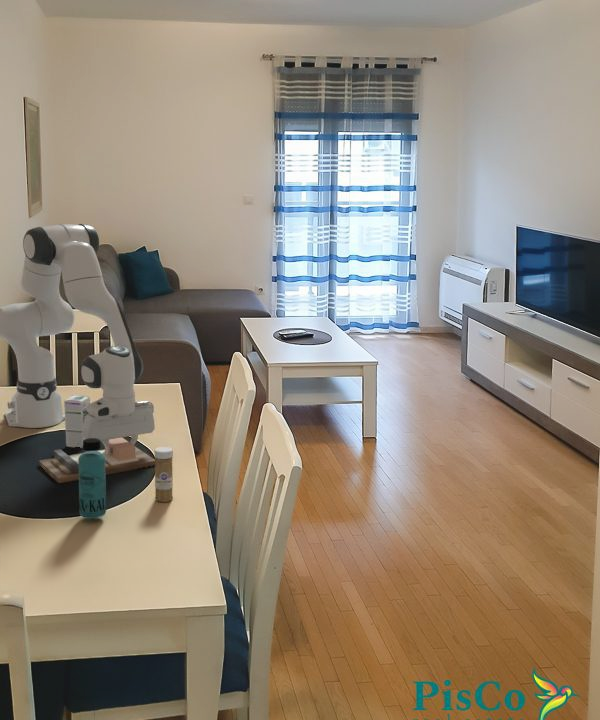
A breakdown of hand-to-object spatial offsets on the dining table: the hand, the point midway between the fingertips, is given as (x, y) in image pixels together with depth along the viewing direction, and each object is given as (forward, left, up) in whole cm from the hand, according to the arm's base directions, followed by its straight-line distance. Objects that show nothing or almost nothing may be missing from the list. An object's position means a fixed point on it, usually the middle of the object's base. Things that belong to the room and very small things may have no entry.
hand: (120, 451), depth 256 cm
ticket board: (0, -7, -3) cm, 7 cm away
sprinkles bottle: (+32, -2, -3) cm, 32 cm away
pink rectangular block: (0, -1, -1) cm, 2 cm away
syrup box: (-20, -5, -3) cm, 21 cm away
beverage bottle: (+35, -22, -3) cm, 41 cm away
